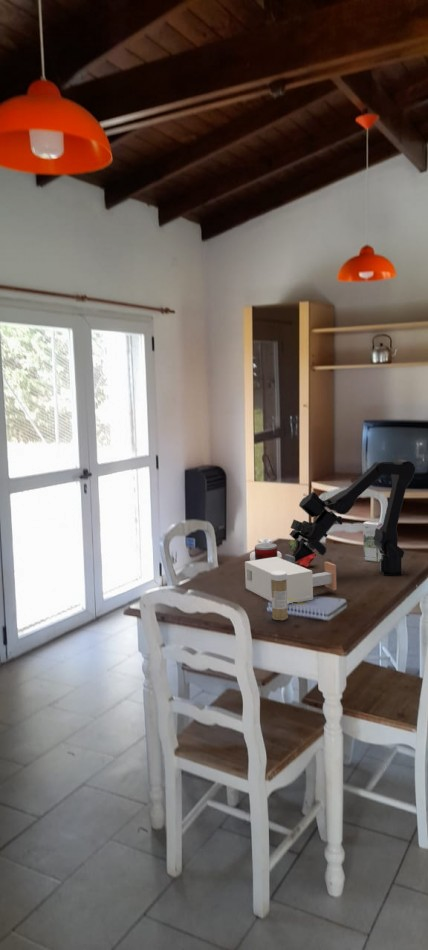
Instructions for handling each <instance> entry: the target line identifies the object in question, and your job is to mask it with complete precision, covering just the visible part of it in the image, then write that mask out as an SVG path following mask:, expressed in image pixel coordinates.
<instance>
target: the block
mask: <svg viewBox="0 0 428 950" xmlns="http://www.w3.org/2000/svg"><path fill="white" fill-rule="evenodd" d="M296 564H297V563H295V564H294V563H291V562H289V561H286V560H285V558H284V559H283V558H282V559H281V558H279V557H272V558H265V559H259V560H252V561H250V560H247V561H244V570H245V571H244V574H245V576H244V577H245V580H244V581H245V589H247V590H248V591H250V592H252V593H254V594H256V595H258V596H259V597H261V598H263V599H265V600H267V601H269V602H271V603H272V581H271V572H273V571H285V572H286V573H287V580H286V585H287V599H293V598H300V597H306V596H312V597H307V598H301V599H296V600H291V601H290V602H297V603H301V602H306V601H312V600H314V587H313V575H312V574H313V570H311V569H309V568H304V567H301V566H300V564H298V565H296Z"/></svg>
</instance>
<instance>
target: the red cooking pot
mask: <svg viewBox="0 0 428 950" xmlns="http://www.w3.org/2000/svg"><path fill="white" fill-rule="evenodd" d="M257 543H258V544H262V543H272V544H273V543H274V540H273V539H270V538H268V537H263V538H261V539H260V540H259V539H258V540H257ZM277 557H279V558H281V559H283V554H282V553H281V552H280V551H278V550H277ZM252 560H255V550H254V551H251V552H250V553H249V561H252Z"/></svg>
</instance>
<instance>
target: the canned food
mask: <svg viewBox="0 0 428 950" xmlns="http://www.w3.org/2000/svg"><path fill="white" fill-rule="evenodd" d="M254 551H255V560H259V559H265V558H272V557H277V551H278V546H277V544H276V543H273V542H272V543H262V544H261V543H258V544H255V545H254Z"/></svg>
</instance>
